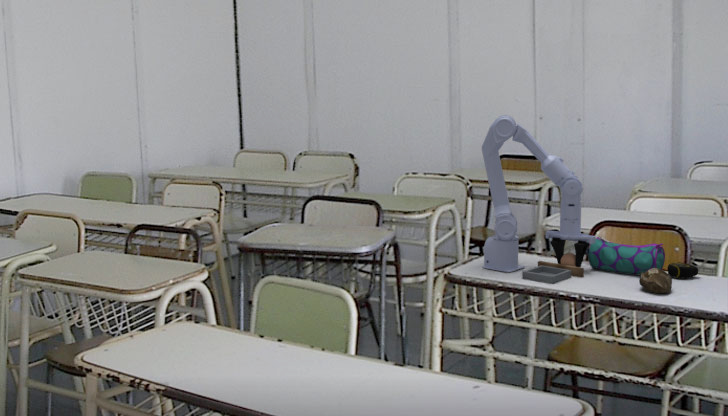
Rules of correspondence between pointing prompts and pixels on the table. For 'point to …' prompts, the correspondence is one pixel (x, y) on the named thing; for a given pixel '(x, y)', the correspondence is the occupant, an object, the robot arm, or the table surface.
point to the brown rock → (656, 281)
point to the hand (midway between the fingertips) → (569, 265)
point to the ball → (569, 259)
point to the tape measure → (682, 270)
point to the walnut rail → (574, 270)
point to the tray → (546, 274)
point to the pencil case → (625, 257)
